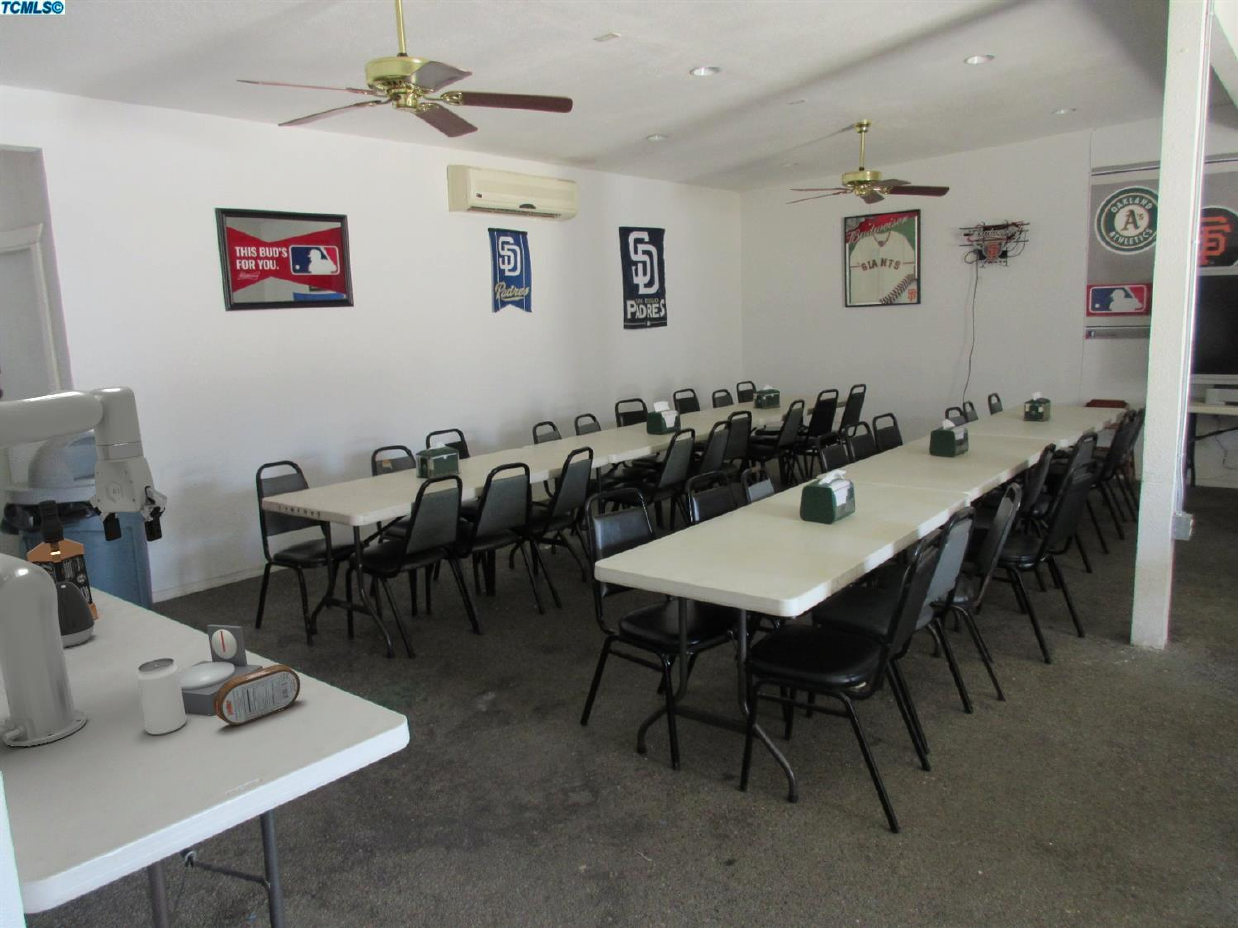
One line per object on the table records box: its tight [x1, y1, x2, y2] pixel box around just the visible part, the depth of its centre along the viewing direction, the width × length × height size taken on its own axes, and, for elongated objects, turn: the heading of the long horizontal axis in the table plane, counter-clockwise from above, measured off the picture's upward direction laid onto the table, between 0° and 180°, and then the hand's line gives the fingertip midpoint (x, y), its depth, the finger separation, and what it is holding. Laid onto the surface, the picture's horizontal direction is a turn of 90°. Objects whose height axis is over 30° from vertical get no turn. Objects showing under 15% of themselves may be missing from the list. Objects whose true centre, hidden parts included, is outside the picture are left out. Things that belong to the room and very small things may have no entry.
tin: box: [213, 663, 301, 726], centre depth 156 cm, size 15×3×8 cm, turn 135°
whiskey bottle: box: [26, 499, 99, 620], centre depth 216 cm, size 10×10×32 cm
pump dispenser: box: [55, 581, 96, 648], centre depth 202 cm, size 10×10×15 cm
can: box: [136, 657, 187, 736], centre depth 153 cm, size 6×6×12 cm
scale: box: [178, 624, 263, 716], centre depth 166 cm, size 14×15×12 cm
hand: (134, 539), depth 166 cm, fingers open, 9 cm apart
